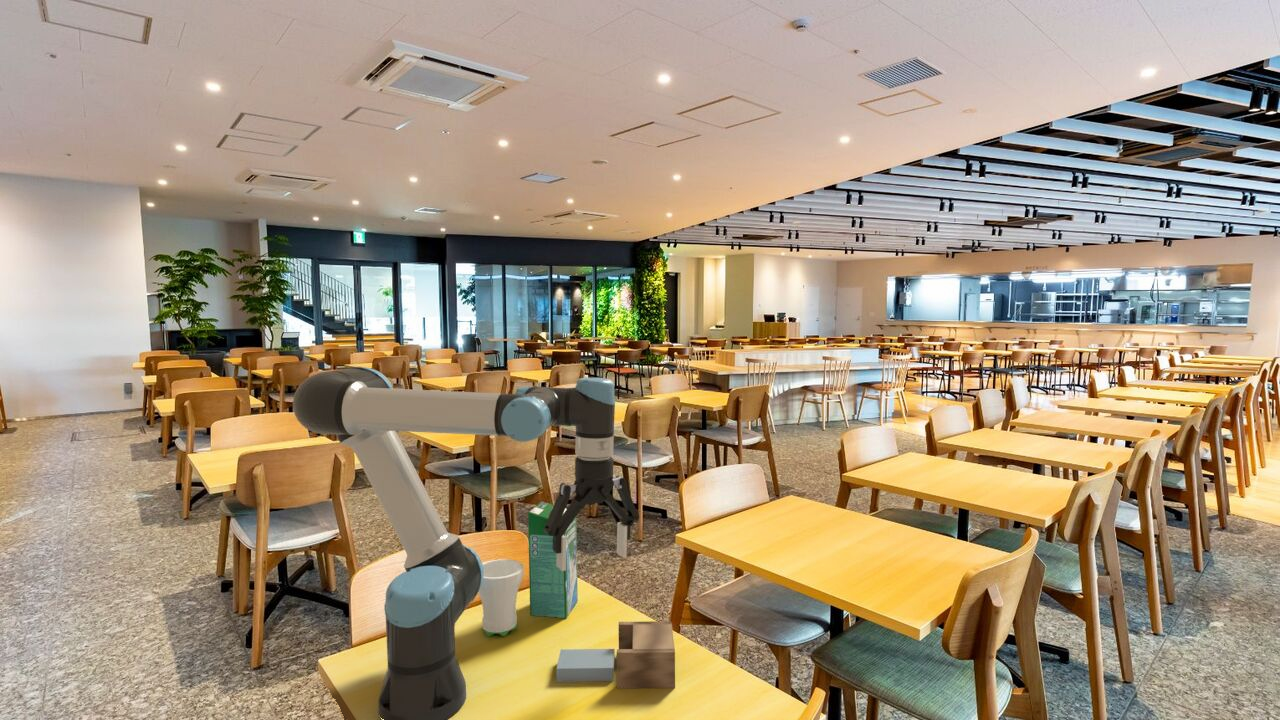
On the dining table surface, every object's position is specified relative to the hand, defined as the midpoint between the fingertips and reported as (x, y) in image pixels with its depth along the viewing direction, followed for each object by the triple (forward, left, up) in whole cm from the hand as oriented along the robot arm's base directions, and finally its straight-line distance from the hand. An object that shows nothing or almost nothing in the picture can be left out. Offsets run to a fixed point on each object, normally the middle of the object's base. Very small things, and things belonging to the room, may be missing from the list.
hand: (592, 561), depth 124 cm
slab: (-1, -2, -22) cm, 22 cm away
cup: (-22, +15, -22) cm, 35 cm away
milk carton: (-11, +25, -22) cm, 35 cm away
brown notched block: (+11, -2, -22) cm, 24 cm away
